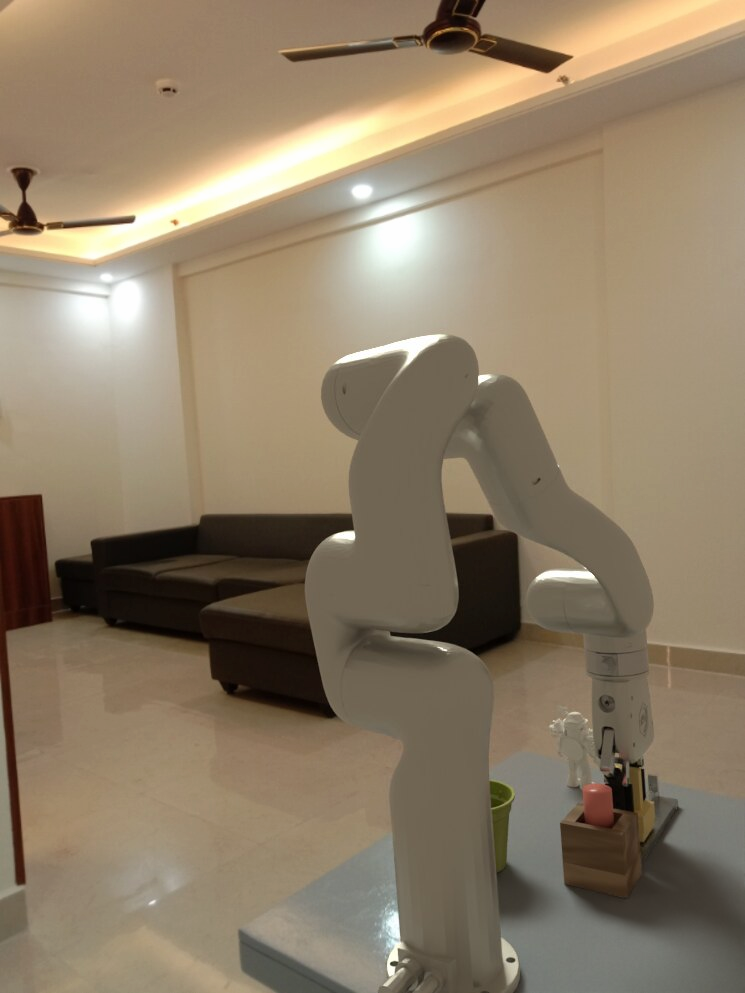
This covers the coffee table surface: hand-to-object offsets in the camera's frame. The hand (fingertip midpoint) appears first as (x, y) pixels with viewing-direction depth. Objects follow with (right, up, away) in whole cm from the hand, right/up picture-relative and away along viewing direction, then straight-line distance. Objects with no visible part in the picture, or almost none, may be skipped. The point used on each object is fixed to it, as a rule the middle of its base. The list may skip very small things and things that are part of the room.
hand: (626, 805), depth 98 cm
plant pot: (-19, -6, -3) cm, 20 cm away
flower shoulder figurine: (-1, -4, +18) cm, 18 cm away
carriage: (0, -3, 0) cm, 3 cm away
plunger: (-6, 0, -8) cm, 10 cm away
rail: (+2, -4, +2) cm, 5 cm away
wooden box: (-5, -5, -8) cm, 11 cm away
